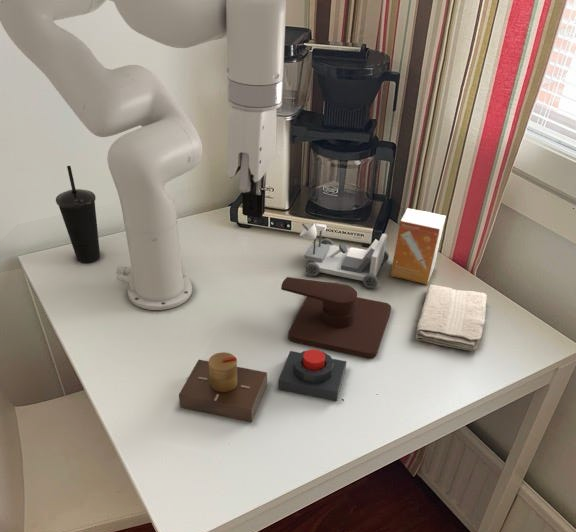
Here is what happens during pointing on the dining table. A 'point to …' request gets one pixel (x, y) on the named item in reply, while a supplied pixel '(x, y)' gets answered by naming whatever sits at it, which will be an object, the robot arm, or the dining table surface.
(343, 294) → the lever handle
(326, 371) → the switch block
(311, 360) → the power button
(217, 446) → the dining table surface
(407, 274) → the small box
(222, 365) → the dimmer knob
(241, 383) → the dimmer panel
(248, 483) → the dining table surface
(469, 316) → the washcloth
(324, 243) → the toy car
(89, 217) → the drinking cup
